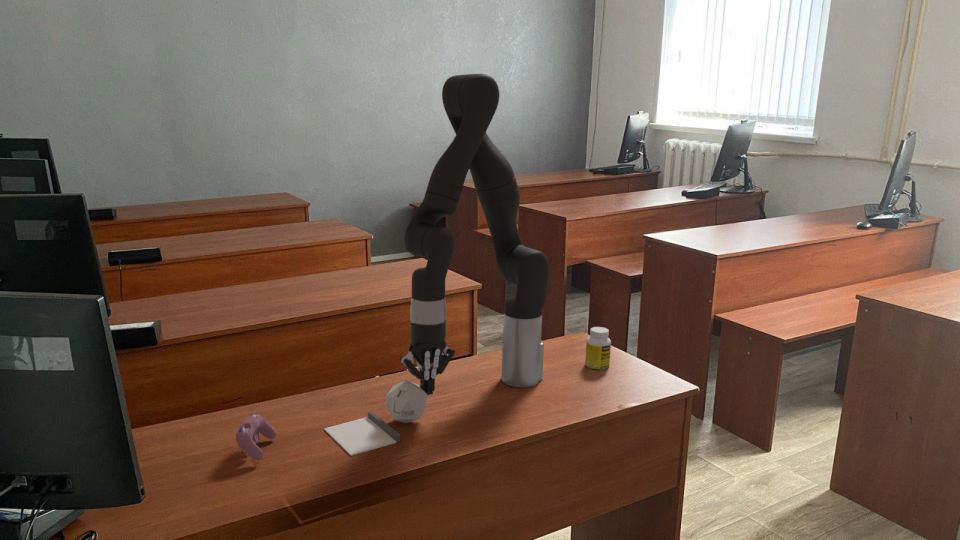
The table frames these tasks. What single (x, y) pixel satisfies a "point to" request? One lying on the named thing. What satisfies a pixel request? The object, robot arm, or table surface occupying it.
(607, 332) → the pill bottle
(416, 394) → the die
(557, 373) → the table surface
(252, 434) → the video game controller
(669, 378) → the table surface
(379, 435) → the white l-shaped plate
